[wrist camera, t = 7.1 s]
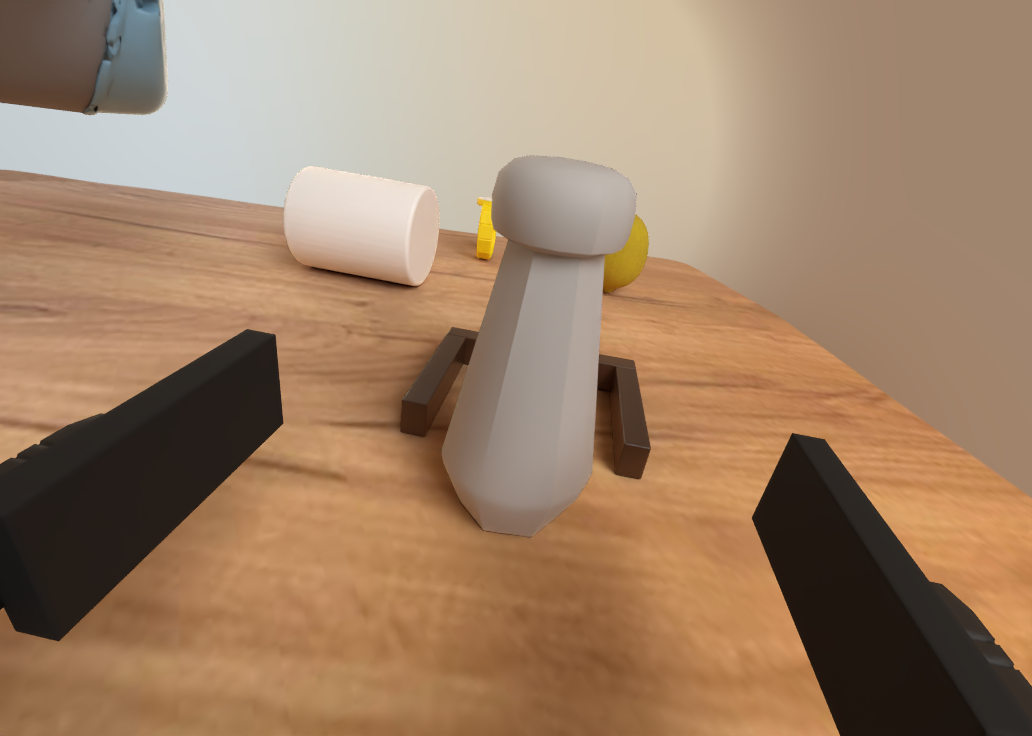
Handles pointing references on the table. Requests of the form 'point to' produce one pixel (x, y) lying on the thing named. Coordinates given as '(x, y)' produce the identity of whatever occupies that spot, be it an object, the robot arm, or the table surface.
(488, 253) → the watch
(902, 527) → the table surface
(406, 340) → the table surface
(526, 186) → the salt shaker
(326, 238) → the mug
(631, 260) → the lemon
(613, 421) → the walnut stop
